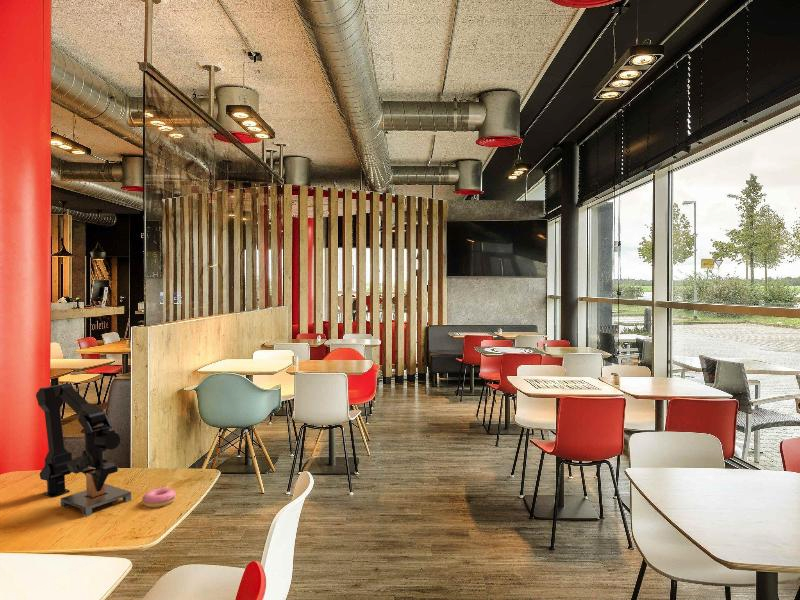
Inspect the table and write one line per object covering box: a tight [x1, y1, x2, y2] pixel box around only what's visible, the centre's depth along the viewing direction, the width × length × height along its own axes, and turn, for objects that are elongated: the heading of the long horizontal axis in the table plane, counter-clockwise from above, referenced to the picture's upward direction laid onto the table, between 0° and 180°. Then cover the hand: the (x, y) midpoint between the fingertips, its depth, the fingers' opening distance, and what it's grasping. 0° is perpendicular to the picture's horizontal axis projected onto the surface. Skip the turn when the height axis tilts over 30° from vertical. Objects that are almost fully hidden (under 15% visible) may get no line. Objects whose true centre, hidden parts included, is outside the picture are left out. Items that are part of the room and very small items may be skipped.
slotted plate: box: [60, 483, 132, 517], centre depth 199 cm, size 16×16×3 cm
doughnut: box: [142, 487, 177, 508], centre depth 198 cm, size 11×11×4 cm
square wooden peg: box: [85, 470, 106, 499], centre depth 198 cm, size 4×4×10 cm
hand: (95, 490), depth 198 cm, fingers closed on square wooden peg, 3 cm apart
